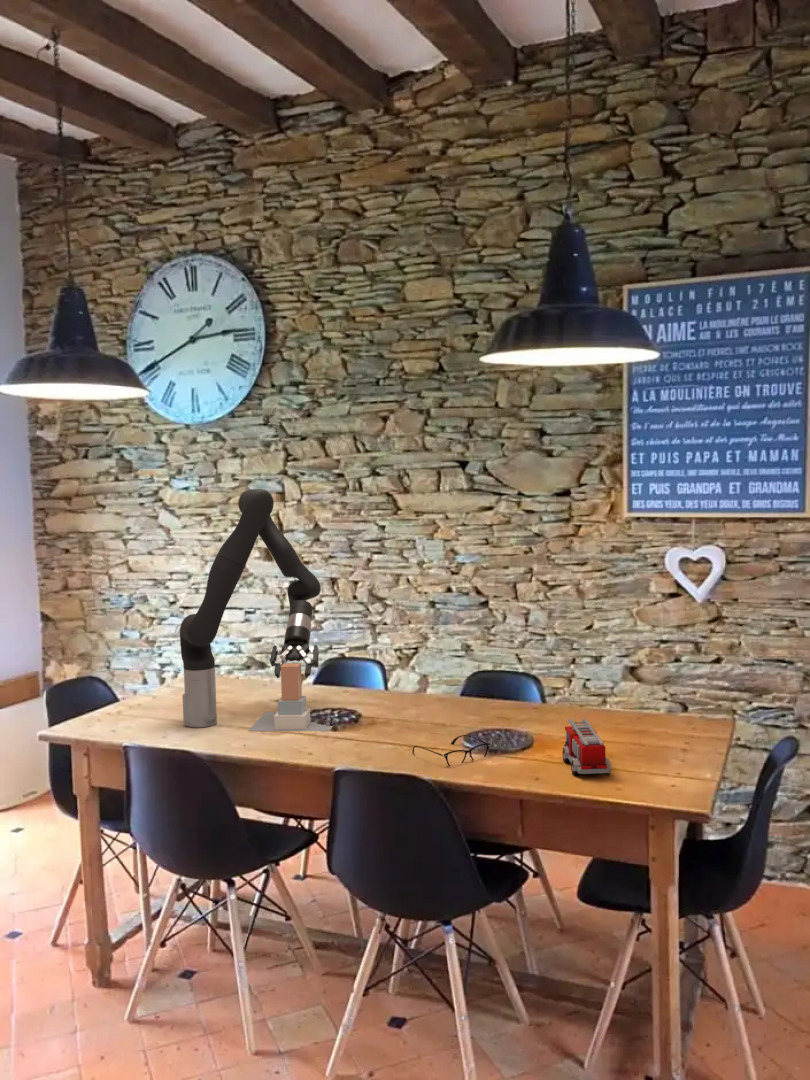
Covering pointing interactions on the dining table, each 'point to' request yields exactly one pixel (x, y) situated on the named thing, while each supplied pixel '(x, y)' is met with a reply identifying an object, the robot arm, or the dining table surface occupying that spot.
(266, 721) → the baseplate
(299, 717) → the tower base
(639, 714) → the dining table surface
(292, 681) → the terracotta brick
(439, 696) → the dining table surface
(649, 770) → the dining table surface
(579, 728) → the toy fire truck
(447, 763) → the eyeglasses
